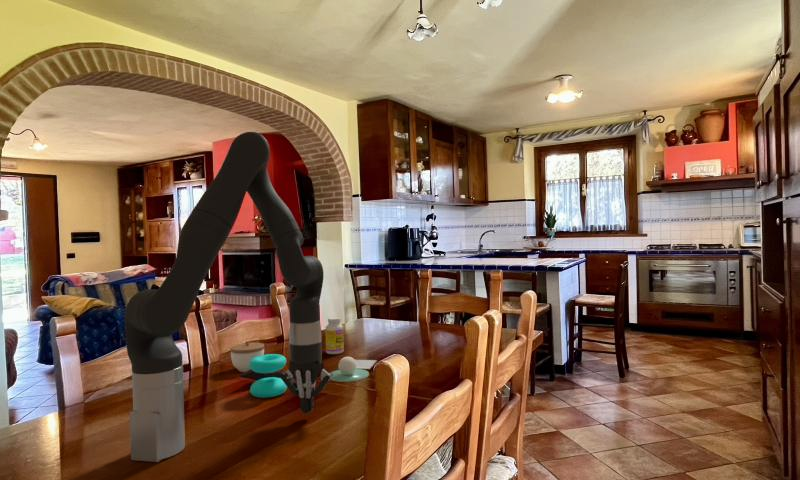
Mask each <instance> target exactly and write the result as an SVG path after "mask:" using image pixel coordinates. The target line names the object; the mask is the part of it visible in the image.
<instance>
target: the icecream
mask: <svg viewBox="0 0 800 480" xmlns="http://www.w3.org/2000/svg"><path fill="white" fill-rule="evenodd" d="M282 373H283V372H282V371H281V370H279V371H276V372H272V373H257V372H254V371H253V370H252V369H250V370H248V371H246V372H242V373H241V374H240V375H239V378H243V379H247V380H252V381H255V382H256V381H258V380H260V379H263V378H269V377H276V378H280V375H281V374H282Z"/></svg>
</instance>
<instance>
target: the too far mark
mask: <svg viewBox="0 0 800 480" xmlns="http://www.w3.org/2000/svg"><path fill="white" fill-rule="evenodd" d="M354 360H355V362H356V369H362V370H370V369H371V368H372V367H373V366H374V365H375V364H376V363H377V361H378V360H377V359H354Z"/></svg>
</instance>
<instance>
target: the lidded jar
mask: <svg viewBox="0 0 800 480" xmlns="http://www.w3.org/2000/svg"><path fill="white" fill-rule="evenodd" d="M261 355H265V344H264V343H263V342H250V341H249V340H246V341H245V342H243V343H238V344H234V345H232V346H231V347H230V359H231V362H232V365H233V367H234V368H236V369H237V371H238V372H241V373H245V372H246V371H248V370H250V369H251V368H250V366H249V363H250V361H251V360H252V359H253V358H255V357H257V356H261Z"/></svg>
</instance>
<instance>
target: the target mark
mask: <svg viewBox="0 0 800 480" xmlns="http://www.w3.org/2000/svg"><path fill="white" fill-rule="evenodd" d="M330 373H332V374H333V376H332V378H331V379H330V380H329V381H333V382H338V383H350V382H357V381H361V380H362V381H363V380H364V379H366V378H368V377H369V376H370V373H369V371H367V369H356V370H355V371H354V372H353V373H352V374H350V375H344V374H342V373H341V372H340V371H339V369H336V370H333V371H330Z"/></svg>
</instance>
